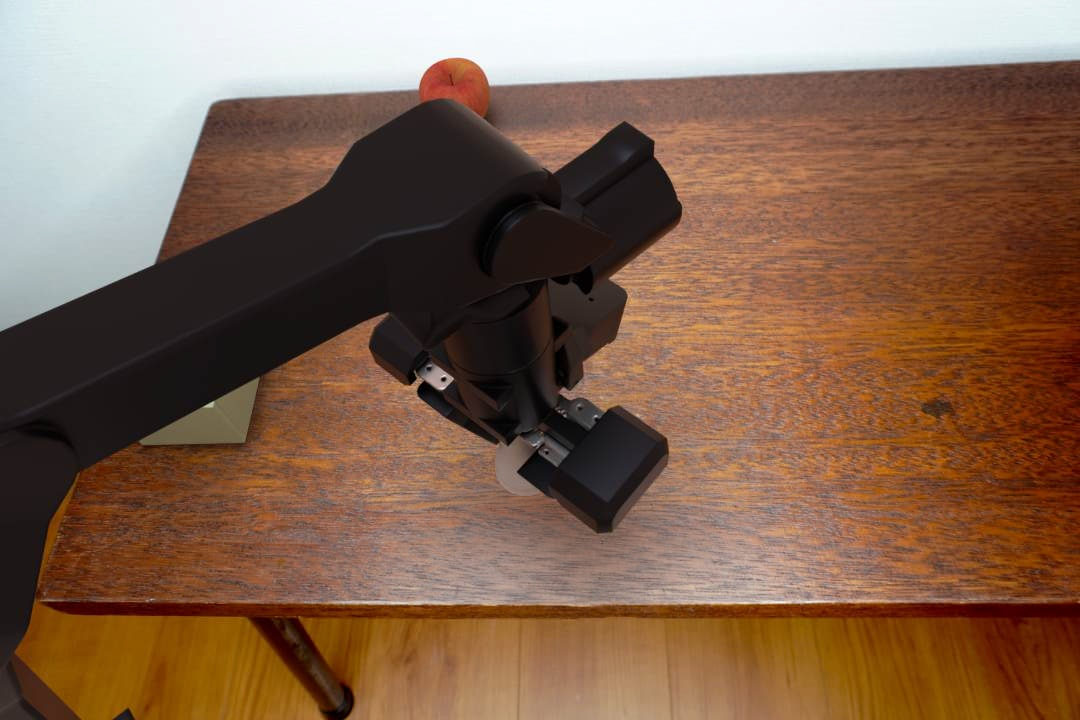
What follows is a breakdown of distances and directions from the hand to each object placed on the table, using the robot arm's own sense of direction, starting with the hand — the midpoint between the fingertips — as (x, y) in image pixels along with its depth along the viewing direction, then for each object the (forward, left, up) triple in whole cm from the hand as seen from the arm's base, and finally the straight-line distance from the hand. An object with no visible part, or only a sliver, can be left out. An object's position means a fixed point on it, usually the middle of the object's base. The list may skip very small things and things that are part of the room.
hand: (525, 457), depth 55 cm
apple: (+29, +35, -12) cm, 47 cm away
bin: (-9, +31, -11) cm, 35 cm away
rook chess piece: (0, 0, -2) cm, 2 cm away
